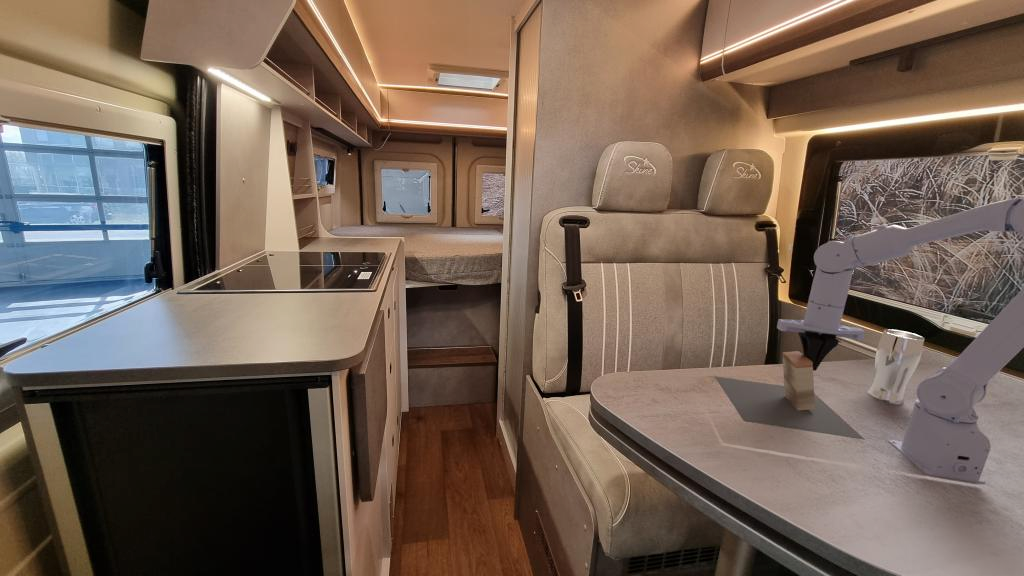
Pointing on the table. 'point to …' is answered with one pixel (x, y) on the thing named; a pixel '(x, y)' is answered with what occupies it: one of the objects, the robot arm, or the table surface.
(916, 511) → the table surface
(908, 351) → the beer glass
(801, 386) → the birch block
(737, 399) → the rubber mat
